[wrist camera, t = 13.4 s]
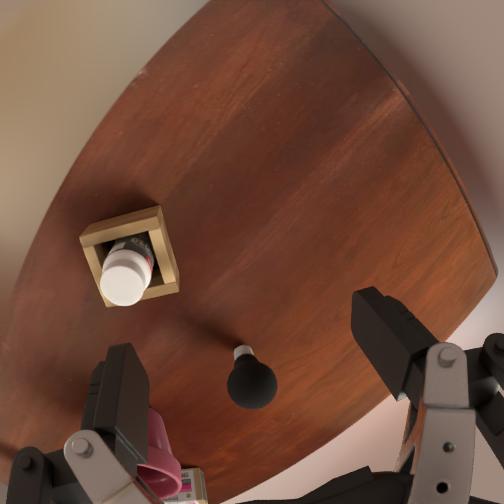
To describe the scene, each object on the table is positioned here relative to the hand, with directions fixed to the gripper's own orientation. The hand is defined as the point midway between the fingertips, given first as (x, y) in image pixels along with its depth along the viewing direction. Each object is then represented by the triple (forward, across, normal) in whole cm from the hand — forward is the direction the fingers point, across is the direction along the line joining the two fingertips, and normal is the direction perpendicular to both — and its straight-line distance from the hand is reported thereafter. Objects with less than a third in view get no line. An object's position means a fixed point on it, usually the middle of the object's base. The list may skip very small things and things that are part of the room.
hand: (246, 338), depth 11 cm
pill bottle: (+24, +9, +5) cm, 26 cm away
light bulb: (+23, 0, +22) cm, 32 cm away
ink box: (+22, +20, +55) cm, 63 cm away
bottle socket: (+23, +9, +5) cm, 26 cm away
